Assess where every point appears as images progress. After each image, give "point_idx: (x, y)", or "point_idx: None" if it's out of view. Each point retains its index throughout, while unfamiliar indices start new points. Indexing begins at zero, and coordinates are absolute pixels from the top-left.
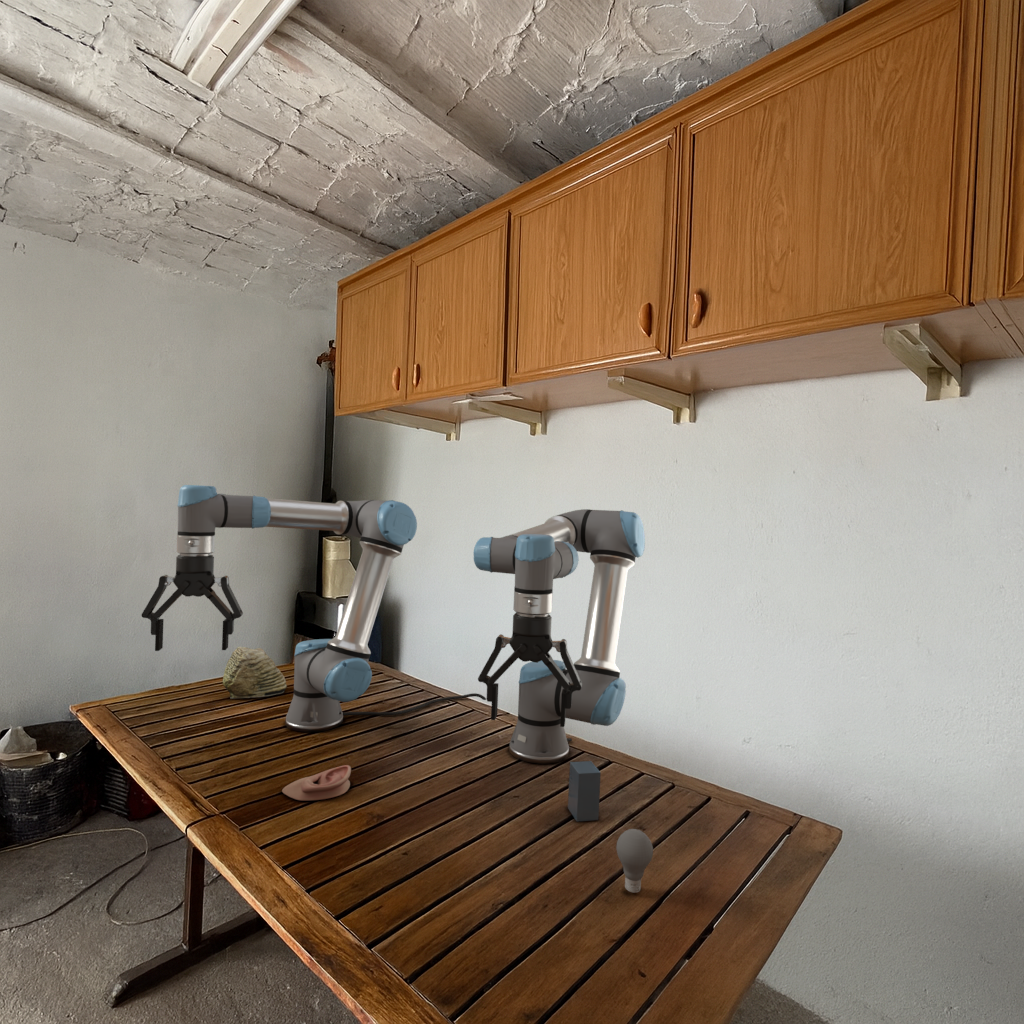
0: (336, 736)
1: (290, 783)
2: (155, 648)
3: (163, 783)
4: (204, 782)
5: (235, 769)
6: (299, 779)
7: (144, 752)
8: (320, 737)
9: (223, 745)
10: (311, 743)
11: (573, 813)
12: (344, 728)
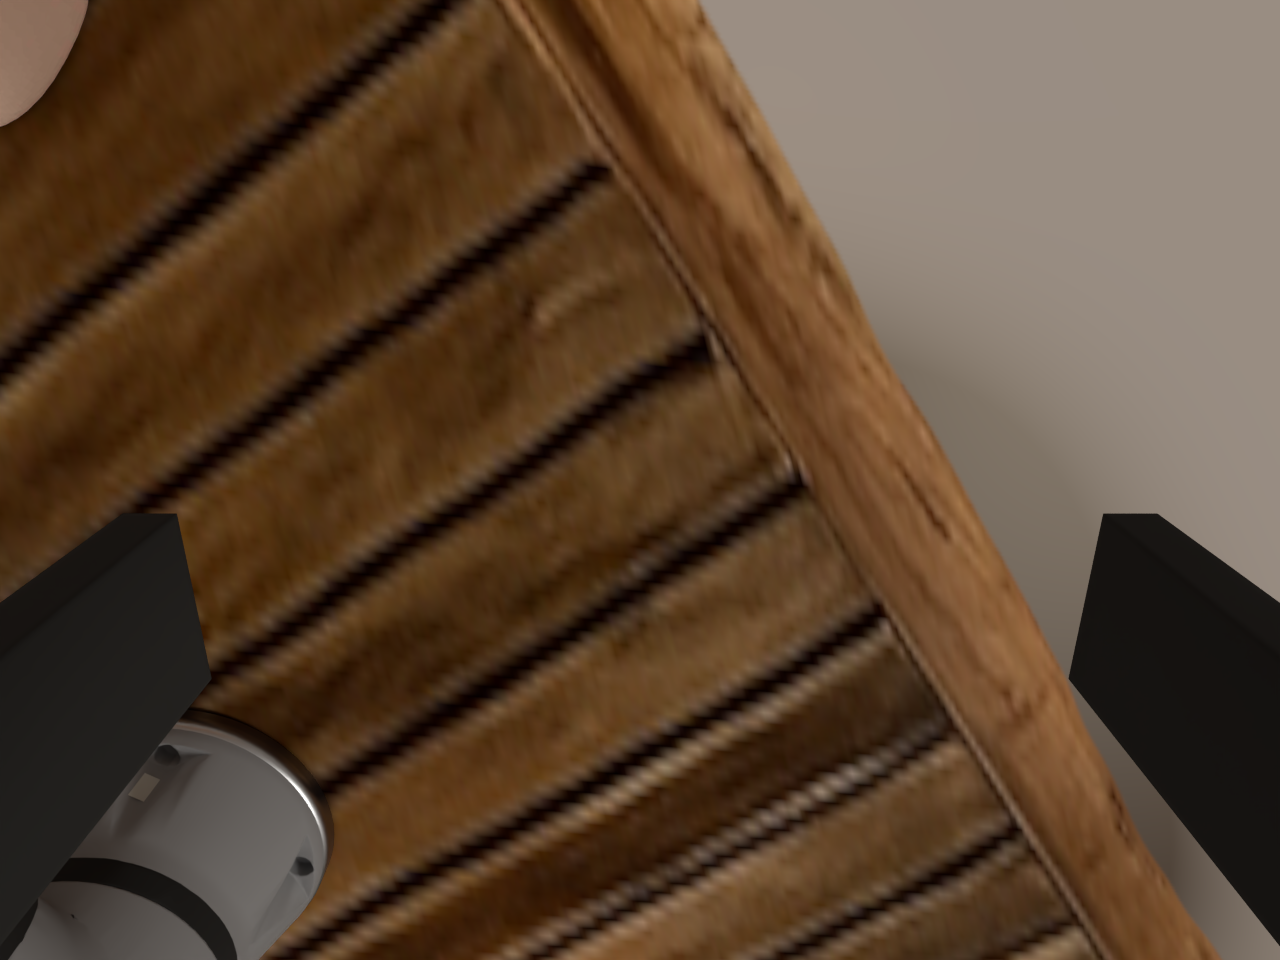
0: None
1: (55, 35)
2: (1172, 526)
3: (728, 182)
4: (531, 167)
5: (422, 310)
6: (9, 58)
7: (900, 561)
8: None
9: (558, 602)
10: None
11: None
12: None
